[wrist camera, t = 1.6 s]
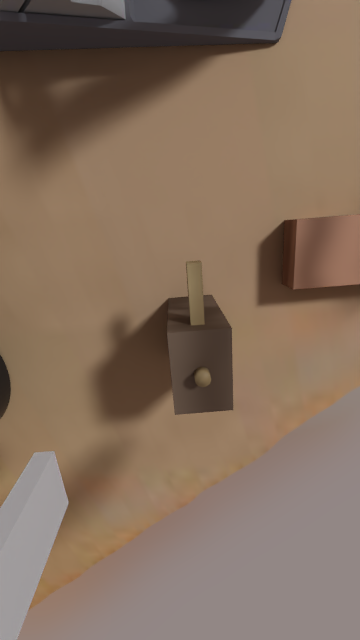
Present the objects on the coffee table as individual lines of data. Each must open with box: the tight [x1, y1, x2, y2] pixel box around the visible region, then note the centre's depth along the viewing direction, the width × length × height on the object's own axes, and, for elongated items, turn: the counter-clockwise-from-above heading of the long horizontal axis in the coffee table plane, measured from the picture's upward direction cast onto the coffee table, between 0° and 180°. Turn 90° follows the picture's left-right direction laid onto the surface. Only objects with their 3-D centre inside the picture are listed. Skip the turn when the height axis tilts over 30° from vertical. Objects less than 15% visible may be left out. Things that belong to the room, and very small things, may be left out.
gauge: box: [167, 261, 233, 415], centre depth 21 cm, size 4×10×10 cm, turn 4°
